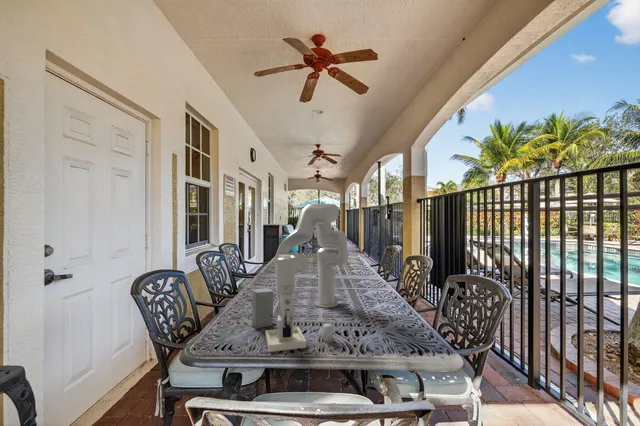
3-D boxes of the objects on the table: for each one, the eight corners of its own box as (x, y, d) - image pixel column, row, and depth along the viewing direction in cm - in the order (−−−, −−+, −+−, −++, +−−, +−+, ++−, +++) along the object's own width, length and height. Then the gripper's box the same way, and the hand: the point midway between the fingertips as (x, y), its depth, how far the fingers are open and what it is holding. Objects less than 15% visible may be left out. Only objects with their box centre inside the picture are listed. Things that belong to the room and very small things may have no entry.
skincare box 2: (278, 332, 120) (278, 314, 120) (293, 332, 121) (293, 314, 121) (276, 339, 114) (277, 320, 114) (292, 339, 115) (292, 320, 114)
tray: (298, 332, 126) (298, 327, 126) (306, 347, 112) (306, 341, 112) (265, 336, 122) (265, 330, 122) (269, 352, 108) (269, 345, 108)
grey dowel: (331, 337, 121) (331, 323, 121) (334, 342, 117) (334, 327, 117) (322, 338, 121) (322, 323, 120) (324, 342, 117) (324, 327, 116)
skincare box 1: (255, 329, 129) (255, 293, 129) (251, 323, 136) (251, 289, 136) (273, 325, 133) (274, 290, 133) (269, 320, 140) (269, 287, 139)
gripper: (299, 293, 110) (299, 341, 110) (290, 282, 127) (290, 324, 127) (279, 295, 108) (278, 343, 108) (273, 283, 124) (273, 325, 125)
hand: (285, 332), depth 117 cm, fingers closed on skincare box 2, 6 cm apart
